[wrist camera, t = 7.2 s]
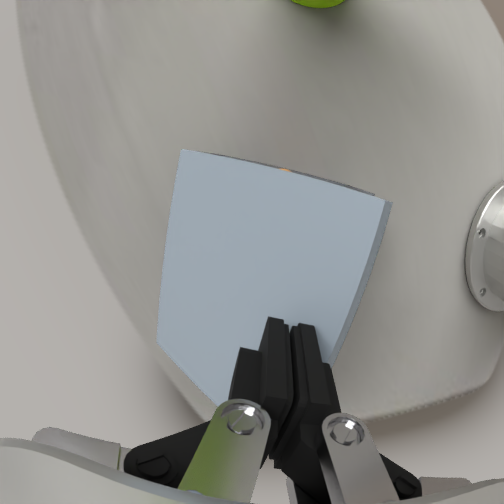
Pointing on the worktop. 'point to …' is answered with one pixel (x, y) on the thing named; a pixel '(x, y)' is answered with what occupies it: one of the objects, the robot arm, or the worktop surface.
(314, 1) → the soap dispenser
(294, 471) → the robot arm
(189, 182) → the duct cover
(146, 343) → the worktop surface
